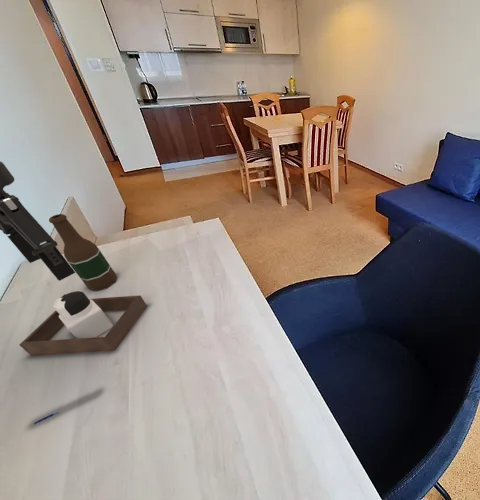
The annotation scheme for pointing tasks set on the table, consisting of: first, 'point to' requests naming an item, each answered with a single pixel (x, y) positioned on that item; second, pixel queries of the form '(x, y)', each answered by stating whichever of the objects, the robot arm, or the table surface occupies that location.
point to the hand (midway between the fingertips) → (51, 267)
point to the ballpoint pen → (45, 418)
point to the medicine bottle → (82, 315)
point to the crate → (43, 345)
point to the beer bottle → (84, 256)
